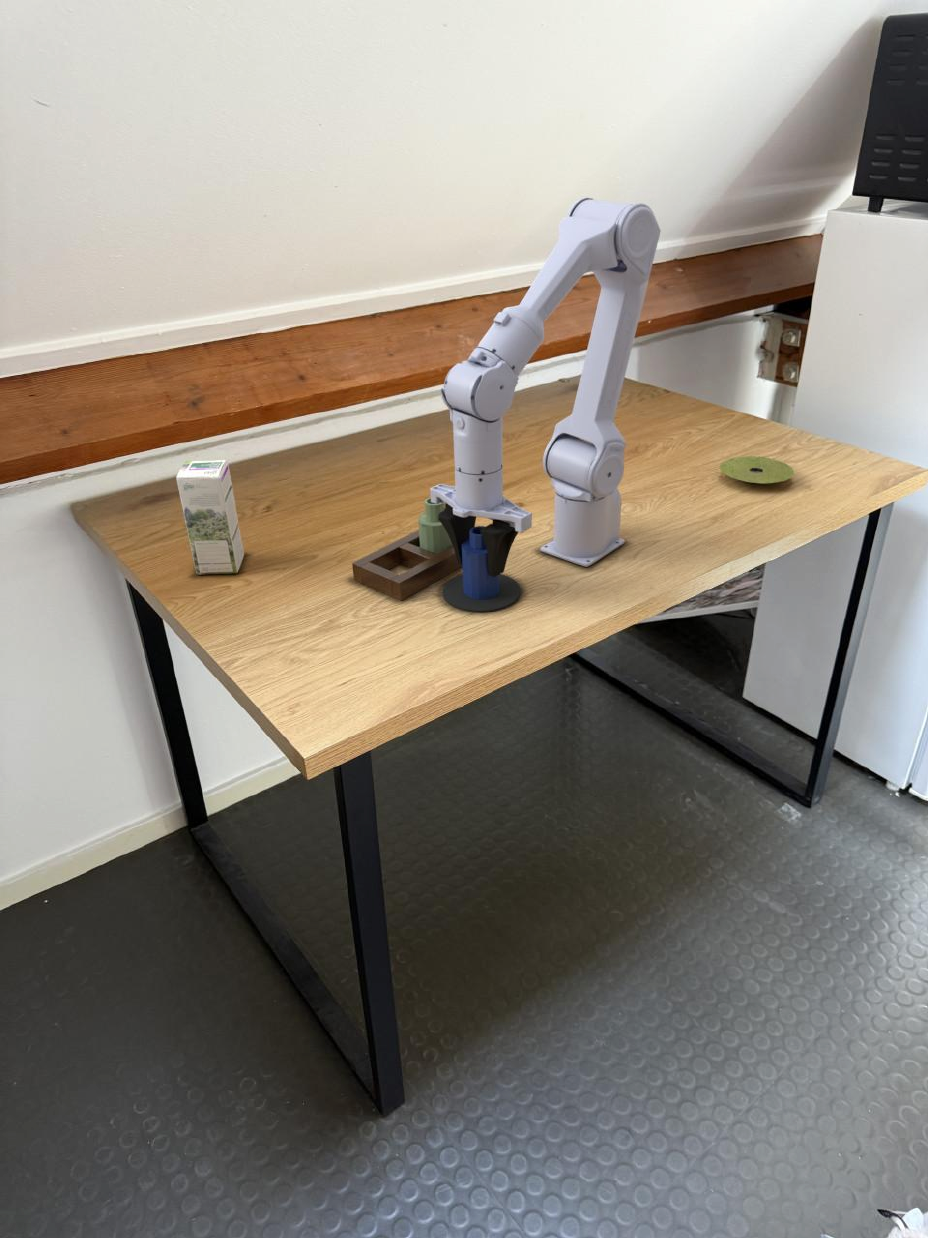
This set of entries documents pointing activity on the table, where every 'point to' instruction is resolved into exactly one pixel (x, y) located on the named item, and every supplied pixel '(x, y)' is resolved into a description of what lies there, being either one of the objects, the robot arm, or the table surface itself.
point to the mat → (756, 469)
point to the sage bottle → (433, 529)
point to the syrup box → (210, 516)
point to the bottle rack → (408, 553)
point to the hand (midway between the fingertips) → (480, 567)
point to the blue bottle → (477, 568)
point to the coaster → (503, 599)
